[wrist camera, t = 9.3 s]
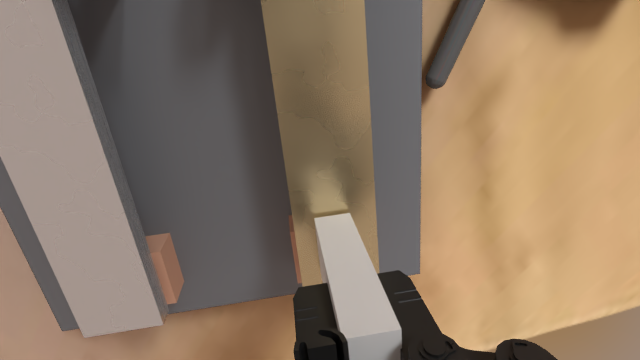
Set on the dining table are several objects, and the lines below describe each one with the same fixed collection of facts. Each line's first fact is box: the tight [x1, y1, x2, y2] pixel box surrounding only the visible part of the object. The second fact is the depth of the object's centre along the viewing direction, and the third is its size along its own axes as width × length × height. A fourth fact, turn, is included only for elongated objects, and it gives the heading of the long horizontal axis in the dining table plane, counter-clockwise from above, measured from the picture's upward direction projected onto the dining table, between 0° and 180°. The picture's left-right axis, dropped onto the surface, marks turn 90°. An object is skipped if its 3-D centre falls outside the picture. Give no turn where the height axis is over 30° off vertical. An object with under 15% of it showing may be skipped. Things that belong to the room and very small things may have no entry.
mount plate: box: [0, 0, 422, 331], centre depth 16 cm, size 20×20×6 cm
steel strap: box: [0, 0, 169, 338], centre depth 14 cm, size 16×4×2 cm, turn 6°
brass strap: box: [261, 0, 379, 287], centre depth 14 cm, size 16×4×2 cm, turn 6°
